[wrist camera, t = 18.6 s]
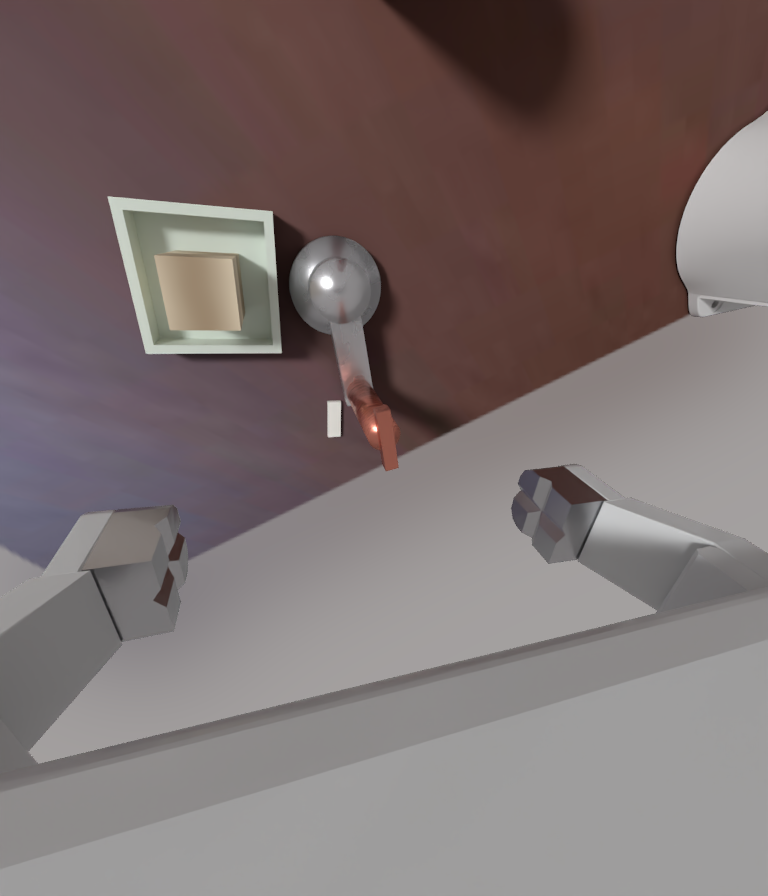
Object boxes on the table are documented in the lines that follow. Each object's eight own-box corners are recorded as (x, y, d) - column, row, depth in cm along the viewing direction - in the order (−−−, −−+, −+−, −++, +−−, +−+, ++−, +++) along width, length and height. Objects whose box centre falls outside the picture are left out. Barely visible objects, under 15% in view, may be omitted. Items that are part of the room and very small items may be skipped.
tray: (272, 212, 26) (272, 211, 24) (280, 344, 31) (281, 353, 29) (121, 199, 24) (107, 196, 22) (154, 344, 28) (145, 353, 26)
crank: (301, 262, 27) (317, 277, 18) (360, 251, 27) (402, 261, 19) (336, 414, 33) (360, 478, 25) (383, 403, 34) (423, 461, 26)
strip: (340, 400, 34) (341, 401, 34) (340, 435, 36) (340, 436, 36) (327, 400, 34) (327, 402, 34) (327, 435, 36) (328, 437, 36)
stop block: (238, 253, 26) (232, 259, 21) (245, 312, 28) (240, 330, 23) (175, 250, 25) (153, 255, 20) (187, 312, 27) (169, 330, 22)
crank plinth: (379, 239, 29) (383, 239, 28) (374, 332, 32) (378, 335, 31) (286, 232, 27) (287, 232, 26) (291, 331, 30) (292, 334, 29)
